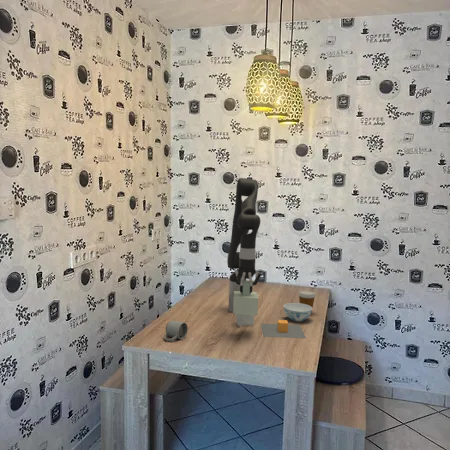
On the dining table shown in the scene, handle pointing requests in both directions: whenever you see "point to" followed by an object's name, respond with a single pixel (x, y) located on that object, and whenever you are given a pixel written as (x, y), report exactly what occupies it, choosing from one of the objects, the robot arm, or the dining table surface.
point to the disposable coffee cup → (306, 298)
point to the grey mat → (272, 331)
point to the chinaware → (297, 311)
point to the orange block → (282, 326)
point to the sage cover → (245, 301)
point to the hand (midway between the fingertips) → (245, 293)
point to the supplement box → (245, 320)
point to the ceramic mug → (176, 330)
